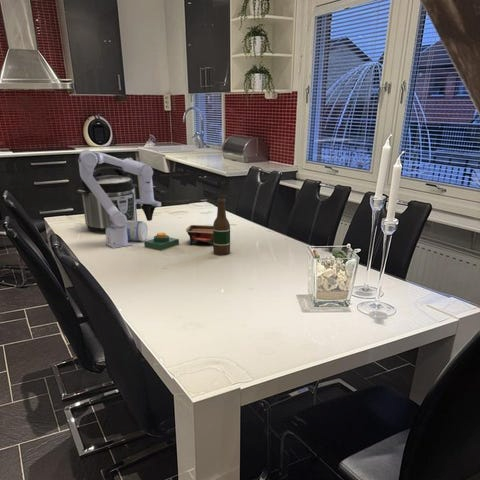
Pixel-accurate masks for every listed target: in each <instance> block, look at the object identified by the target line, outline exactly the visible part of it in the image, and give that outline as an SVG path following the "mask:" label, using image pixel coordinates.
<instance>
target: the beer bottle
mask: <svg viewBox="0 0 480 480" xmlns="http://www.w3.org/2000/svg"><path fill="white" fill-rule="evenodd" d="M226 202H227V201H226V198H222V197H219V198H217V212H216V217H215V219H214V220H213V224H212V226H213V245H212V248H213V249H212V251H213V253H214V255H216V256H227V255H229V254H230V253H231V225H230V222H229V220H228V218H227V212H226Z"/></svg>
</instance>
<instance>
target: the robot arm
mask: <svg viewBox="0 0 480 480" xmlns="http://www.w3.org/2000/svg"><path fill="white" fill-rule="evenodd" d="M77 161H78V168H79V176H80V178H81V180H83V181H84V182H85V184H86V185H87V186H88V188H89V189H90V190H91V191H92V193H93V194H94V195H95V197H96V198H97V199H98V201H99V202H100V203H101V205H102V206H103V207H104V209H105V210H106V212H107V213H108V215H109V218H110V220H111V222H112V223H111V227H109V228H106V233H105V239H106V243H105V244H106V245H107V246H108V247H110V248H112V249H115V248H116V249H117V248H120V247H121V248H122V247H129V246H132V243H130V242H129V240H128V235H127V225H126V223H127V218H126V216H125V215H124V214H122V213H121V212H120V211H119V210H118V209H117V208H116V207H115V205H114V204H113V203H112V201H111V200H110V199H109V197H108V196H107V194H106V193H105V192H104V190H103V189H102V188H101V186H100V185H99V184H98V182H97V181H96V180H95V178H94V177H93V171H94V170H95V169H96V166H97V165H100V164H101V165H102V164H103V163H106V164H109V165H113V166H117V167H119V168H120V167H121V169H122V170H124V171H126V172H127V173H128V174H129V173H130V174H133V175H135V176H139V187H140V196H141V197H140V198H136V200H135V204H136V205H140V209H141V210H142V211H143V213H144V216H145V219H146V221H148V222H150V221H153V216H154V212H155V210H156V207H158V208H159V207H162V202H161V201H158V200H156V199H155V196H154V195H155V194H154V182H153V175H154V170H153V168H152V167H151V166H150V165H149V164H146V163H144V162H143V161H138V160H134V158H132V157H126V158H124V159H121V158H118V157H115V156H113V155H109V154H107V153H104V152H100V151H95V150H93V151H91V150H89V149H84V150H82V151H80V153H79V156H78V160H77Z"/></svg>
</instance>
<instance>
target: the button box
mask: <svg viewBox="0 0 480 480" xmlns="http://www.w3.org/2000/svg"><path fill="white" fill-rule="evenodd" d="M143 243H144V244H143V245H144V248H147V249H150V250H151V249H152V250H156V251H163V250H164V251H165V250H166V249H167V250H168V249H170V248H172V247H173V248H174V247H176V246H178V245H180V239H179V238H175V237H170V235H167V234H166V237H165V238H158V237H157V234H156V235H154V236H153V238H152V239H149V240H145V241H143Z"/></svg>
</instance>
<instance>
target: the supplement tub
mask: <svg viewBox="0 0 480 480" xmlns="http://www.w3.org/2000/svg"><path fill="white" fill-rule="evenodd" d="M126 225H127V235H128V241H134V242H145V241H147V238H148V236H149V235H148V234H149V232H148V231H149V229H148V224H147V222H145V221H143V220H137V221H130V220H127V223H126Z"/></svg>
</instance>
